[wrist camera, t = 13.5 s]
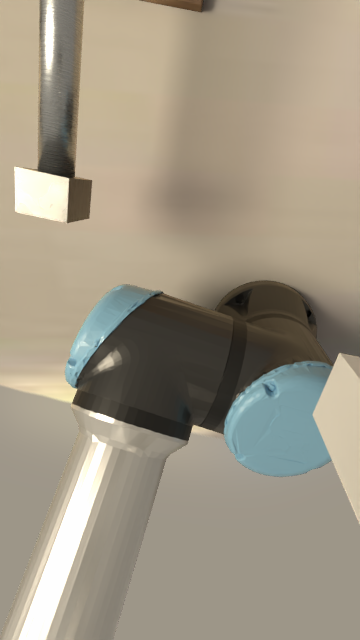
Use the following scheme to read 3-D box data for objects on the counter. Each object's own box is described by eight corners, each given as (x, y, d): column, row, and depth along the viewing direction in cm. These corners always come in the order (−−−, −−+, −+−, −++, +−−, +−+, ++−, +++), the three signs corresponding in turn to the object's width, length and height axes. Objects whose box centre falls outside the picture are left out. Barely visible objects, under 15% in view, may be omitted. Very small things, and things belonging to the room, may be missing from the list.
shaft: (120, -196, 21) (92, -308, 16) (89, 218, 31) (66, 223, 26) (53, -208, 21) (7, -323, 16) (45, 209, 31) (15, 212, 26)
